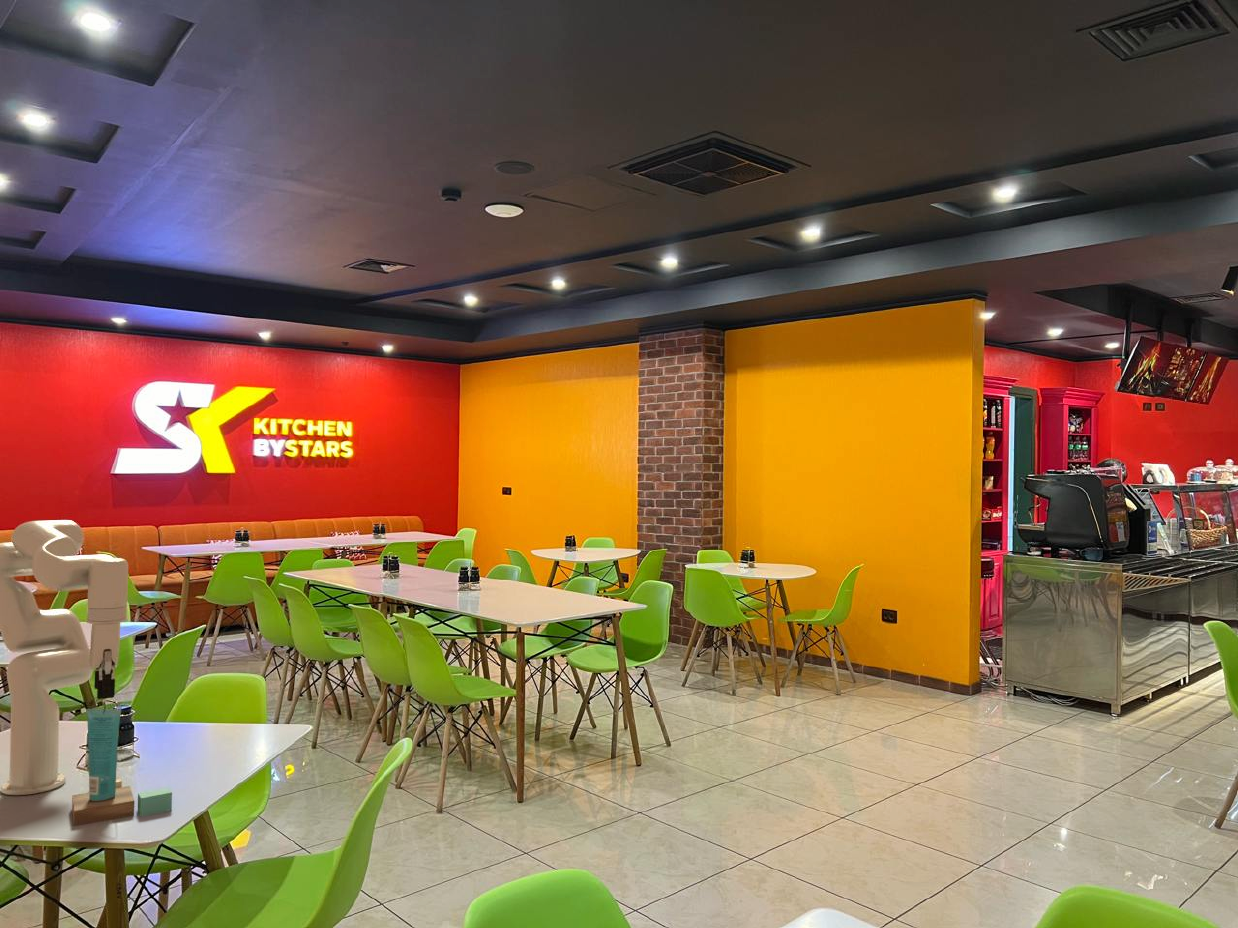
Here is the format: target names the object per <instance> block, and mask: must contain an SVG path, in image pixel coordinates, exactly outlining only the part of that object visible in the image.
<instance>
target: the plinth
mask: <svg viewBox="0 0 1238 928" xmlns="http://www.w3.org/2000/svg"><path fill="white" fill-rule="evenodd" d="M71 802H72V803H71V812H72V819H73V826H80V825H85V824H91V823H95V822H102V821H107V820H112V819H117V818H118V819H119V818H123V817H130V816H134V815H135V798H134V795H133V791H132V789H131V786H130V785H128V786H122V787H121V788H116V792H115V796H114V797H113V798H110V799H107V800H102V801H92V800H90V799H89V792H85V793H79V794H73V795H72V799H71Z"/></svg>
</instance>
